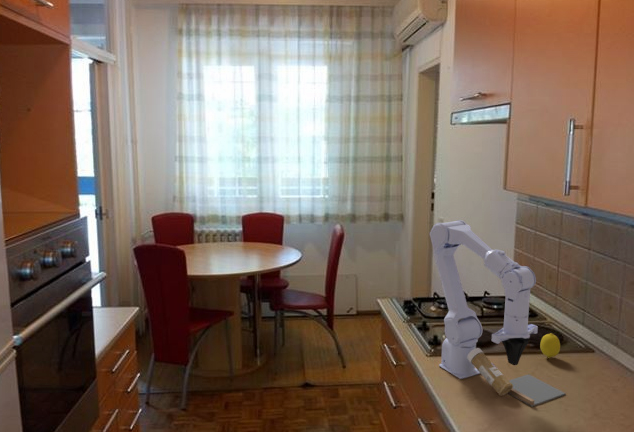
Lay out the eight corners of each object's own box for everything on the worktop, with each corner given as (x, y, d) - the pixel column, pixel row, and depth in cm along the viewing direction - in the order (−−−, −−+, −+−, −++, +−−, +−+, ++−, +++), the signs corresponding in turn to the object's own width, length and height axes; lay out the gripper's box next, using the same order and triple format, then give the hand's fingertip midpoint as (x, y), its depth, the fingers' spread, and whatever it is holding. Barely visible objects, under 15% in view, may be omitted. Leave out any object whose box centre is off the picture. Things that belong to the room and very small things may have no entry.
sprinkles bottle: (512, 382, 133) (478, 344, 143) (498, 392, 133) (465, 354, 142) (514, 389, 136) (480, 351, 146) (500, 399, 136) (467, 361, 146)
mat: (495, 386, 141) (495, 381, 141) (528, 375, 147) (528, 370, 147) (531, 406, 131) (531, 401, 130) (565, 394, 137) (565, 389, 136)
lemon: (542, 352, 162) (544, 328, 161) (561, 357, 159) (563, 332, 157) (537, 358, 158) (538, 333, 156) (556, 363, 154) (558, 338, 153)
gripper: (508, 324, 125) (504, 376, 127) (549, 314, 131) (545, 363, 134) (486, 314, 131) (483, 364, 133) (526, 305, 138) (523, 353, 140)
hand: (513, 363), depth 134 cm, fingers closed
